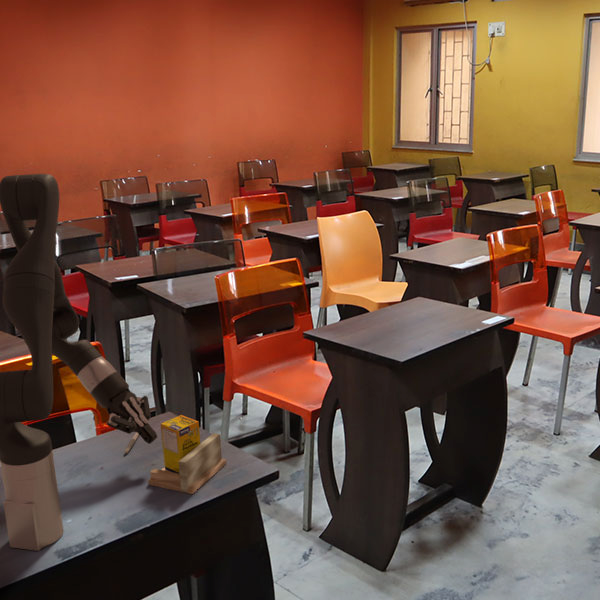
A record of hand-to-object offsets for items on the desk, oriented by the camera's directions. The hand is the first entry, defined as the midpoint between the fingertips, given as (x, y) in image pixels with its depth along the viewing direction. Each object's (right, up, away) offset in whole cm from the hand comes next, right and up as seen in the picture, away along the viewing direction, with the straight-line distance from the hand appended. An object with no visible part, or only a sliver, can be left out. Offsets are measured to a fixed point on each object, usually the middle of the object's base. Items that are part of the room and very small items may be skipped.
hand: (153, 440), depth 167 cm
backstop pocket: (+7, -7, -2) cm, 10 cm away
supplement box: (+7, -6, -2) cm, 9 cm away
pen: (-7, -3, +14) cm, 16 cm away
